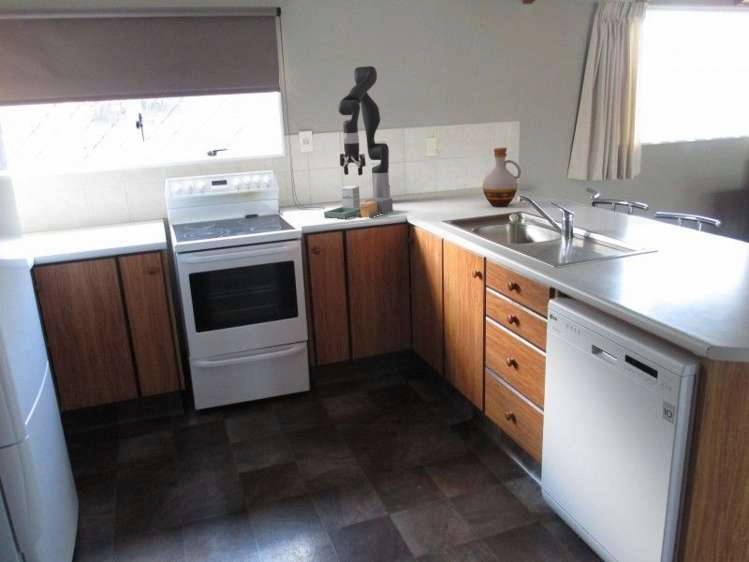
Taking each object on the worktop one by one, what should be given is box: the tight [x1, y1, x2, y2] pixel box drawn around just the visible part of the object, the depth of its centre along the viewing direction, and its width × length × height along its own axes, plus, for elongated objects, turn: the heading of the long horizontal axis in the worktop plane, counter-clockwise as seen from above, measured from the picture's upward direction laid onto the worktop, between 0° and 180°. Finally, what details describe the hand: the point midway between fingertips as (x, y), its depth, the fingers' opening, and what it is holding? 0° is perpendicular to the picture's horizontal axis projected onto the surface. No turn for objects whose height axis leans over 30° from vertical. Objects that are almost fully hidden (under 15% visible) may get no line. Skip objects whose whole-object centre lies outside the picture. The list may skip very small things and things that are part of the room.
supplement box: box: [341, 185, 361, 208], centre depth 342 cm, size 7×7×13 cm
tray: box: [323, 206, 361, 220], centre depth 329 cm, size 15×13×3 cm
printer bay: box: [355, 197, 394, 219], centre depth 328 cm, size 20×10×7 cm, turn 146°
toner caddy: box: [360, 201, 378, 218], centre depth 324 cm, size 9×5×7 cm, turn 146°
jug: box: [482, 147, 522, 208], centre depth 330 cm, size 20×18×30 cm
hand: (353, 175), depth 318 cm, fingers open, 8 cm apart
